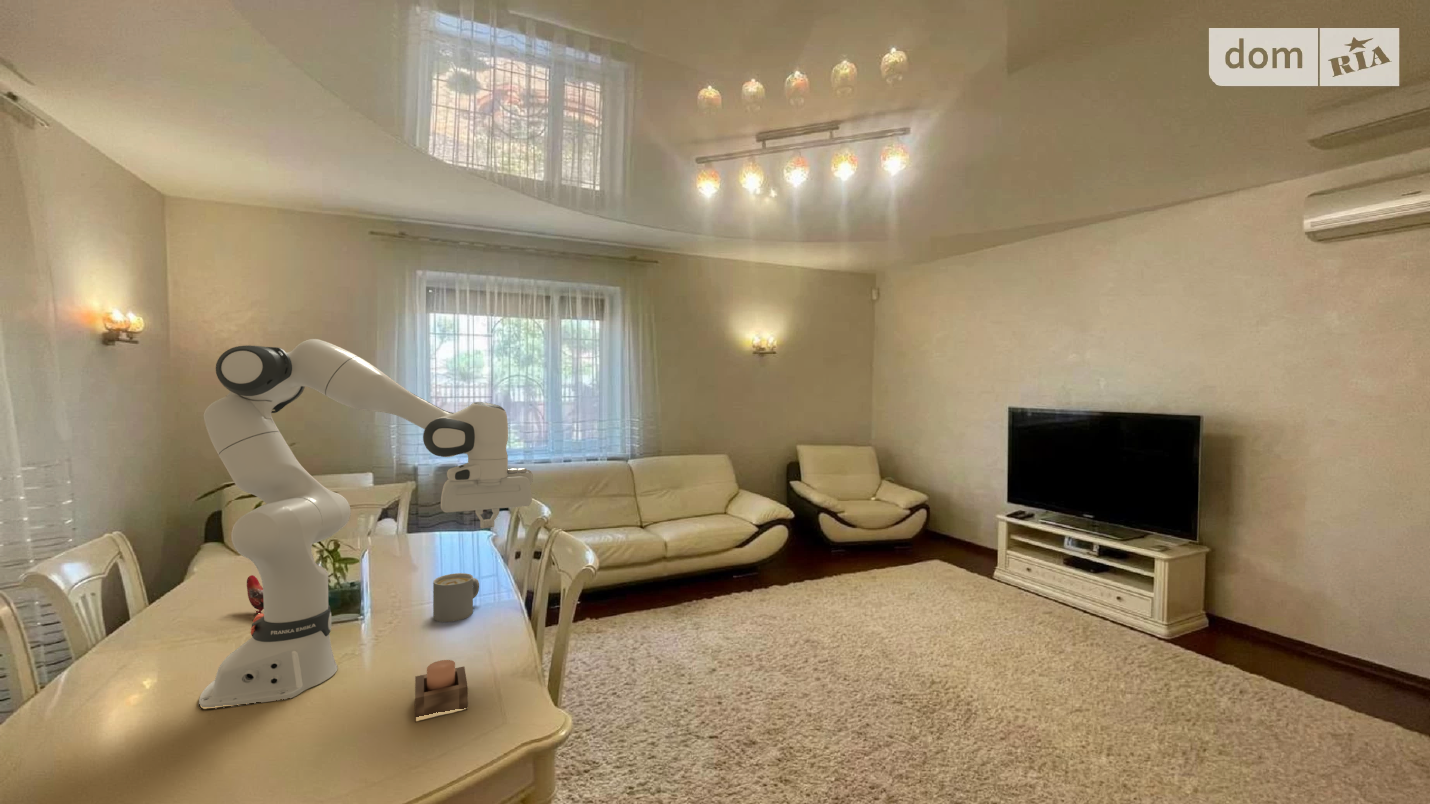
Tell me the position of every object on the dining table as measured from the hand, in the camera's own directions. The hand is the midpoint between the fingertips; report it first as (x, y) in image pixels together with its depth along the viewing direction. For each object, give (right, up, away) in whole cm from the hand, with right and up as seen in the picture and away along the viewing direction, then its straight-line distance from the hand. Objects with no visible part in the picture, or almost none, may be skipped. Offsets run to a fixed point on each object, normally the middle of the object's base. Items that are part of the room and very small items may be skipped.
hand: (487, 527), depth 132 cm
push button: (0, -26, -23) cm, 35 cm away
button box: (0, -30, -23) cm, 38 cm away
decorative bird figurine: (-70, -29, +19) cm, 78 cm away
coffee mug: (-17, -29, +22) cm, 40 cm away
